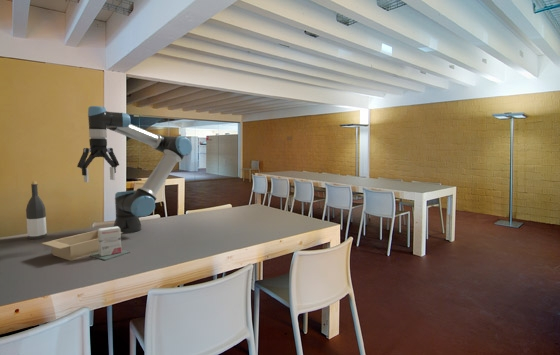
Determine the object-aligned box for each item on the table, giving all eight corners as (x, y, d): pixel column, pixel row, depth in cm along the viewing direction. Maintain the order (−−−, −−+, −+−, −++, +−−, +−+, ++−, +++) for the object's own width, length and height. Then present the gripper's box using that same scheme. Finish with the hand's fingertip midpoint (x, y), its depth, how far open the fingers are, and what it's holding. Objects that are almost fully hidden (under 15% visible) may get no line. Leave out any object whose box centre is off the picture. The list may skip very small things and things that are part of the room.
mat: (114, 248, 154) (114, 247, 154) (129, 252, 149) (129, 251, 149) (90, 255, 143) (90, 255, 143) (105, 260, 138) (105, 259, 138)
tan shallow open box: (105, 240, 166) (104, 228, 166) (123, 245, 159) (123, 232, 159) (42, 257, 141) (41, 243, 140) (61, 263, 134) (60, 248, 133)
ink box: (119, 250, 151) (118, 225, 150) (121, 252, 147) (121, 227, 146) (98, 253, 145) (97, 228, 144) (100, 256, 142) (99, 230, 140)
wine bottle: (28, 240, 165) (24, 182, 162) (27, 236, 171) (24, 181, 168) (47, 237, 170) (44, 181, 167) (46, 234, 176) (43, 180, 173)
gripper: (116, 138, 171) (117, 178, 173) (67, 137, 149) (69, 182, 151) (125, 138, 167) (126, 179, 170) (76, 137, 145) (79, 183, 148)
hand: (99, 180), depth 160 cm, fingers open, 13 cm apart
